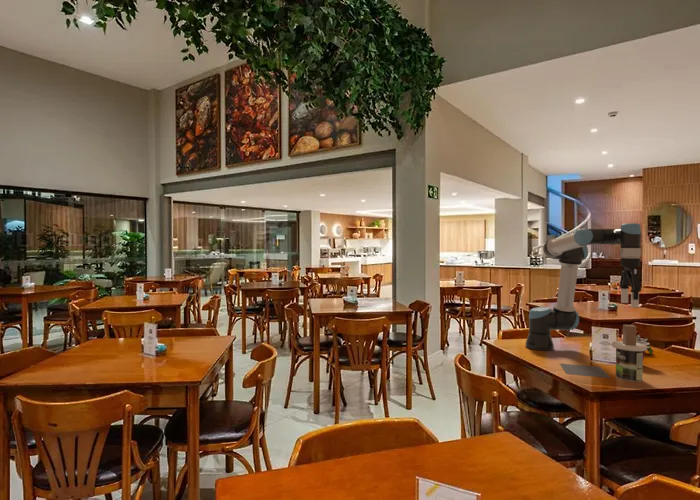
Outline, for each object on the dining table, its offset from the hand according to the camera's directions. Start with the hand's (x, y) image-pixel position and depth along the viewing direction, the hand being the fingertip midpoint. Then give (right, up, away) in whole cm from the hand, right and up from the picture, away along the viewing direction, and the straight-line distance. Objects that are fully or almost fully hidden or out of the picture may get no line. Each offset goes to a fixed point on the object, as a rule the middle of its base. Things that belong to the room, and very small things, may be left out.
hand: (629, 304), depth 186 cm
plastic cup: (+19, -34, +23) cm, 45 cm away
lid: (0, -19, 0) cm, 19 cm away
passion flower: (+37, -34, +47) cm, 68 cm away
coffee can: (0, -34, 0) cm, 34 cm away
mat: (-15, -33, +11) cm, 38 cm away
